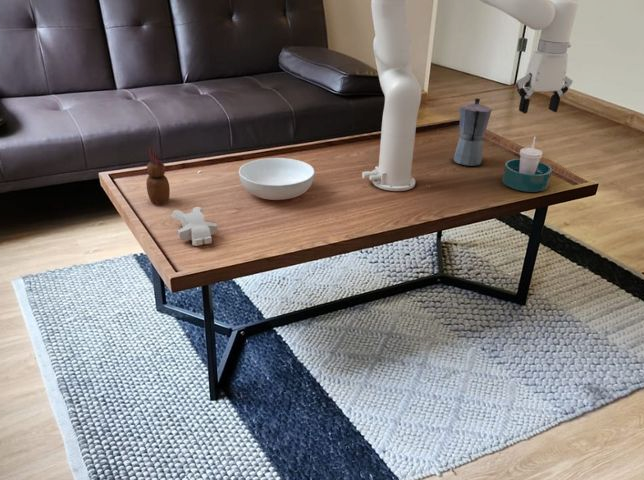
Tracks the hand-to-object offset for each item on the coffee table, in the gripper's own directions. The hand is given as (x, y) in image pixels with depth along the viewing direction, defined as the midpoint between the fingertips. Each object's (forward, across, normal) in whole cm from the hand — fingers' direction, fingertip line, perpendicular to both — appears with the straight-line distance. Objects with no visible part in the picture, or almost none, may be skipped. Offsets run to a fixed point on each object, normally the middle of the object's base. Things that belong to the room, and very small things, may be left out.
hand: (537, 111), depth 180 cm
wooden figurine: (+24, +104, -12) cm, 107 cm away
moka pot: (+22, +7, -20) cm, 30 cm away
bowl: (+22, -1, 0) cm, 22 cm away
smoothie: (+22, -1, 0) cm, 22 cm away
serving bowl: (+24, +72, -11) cm, 76 cm away
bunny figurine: (+24, +97, +9) cm, 101 cm away
